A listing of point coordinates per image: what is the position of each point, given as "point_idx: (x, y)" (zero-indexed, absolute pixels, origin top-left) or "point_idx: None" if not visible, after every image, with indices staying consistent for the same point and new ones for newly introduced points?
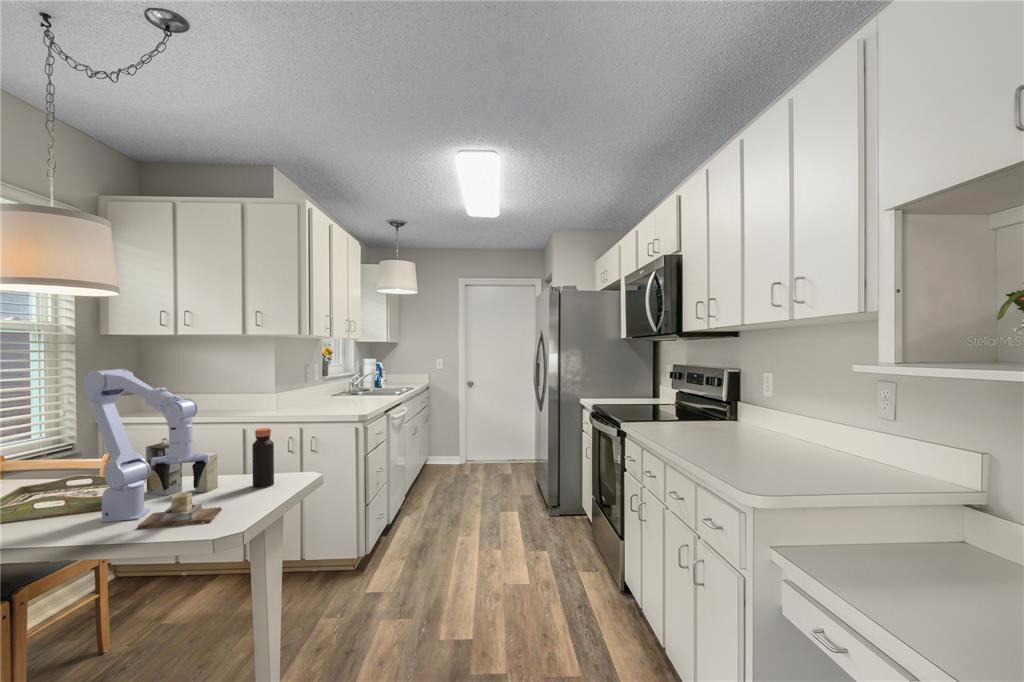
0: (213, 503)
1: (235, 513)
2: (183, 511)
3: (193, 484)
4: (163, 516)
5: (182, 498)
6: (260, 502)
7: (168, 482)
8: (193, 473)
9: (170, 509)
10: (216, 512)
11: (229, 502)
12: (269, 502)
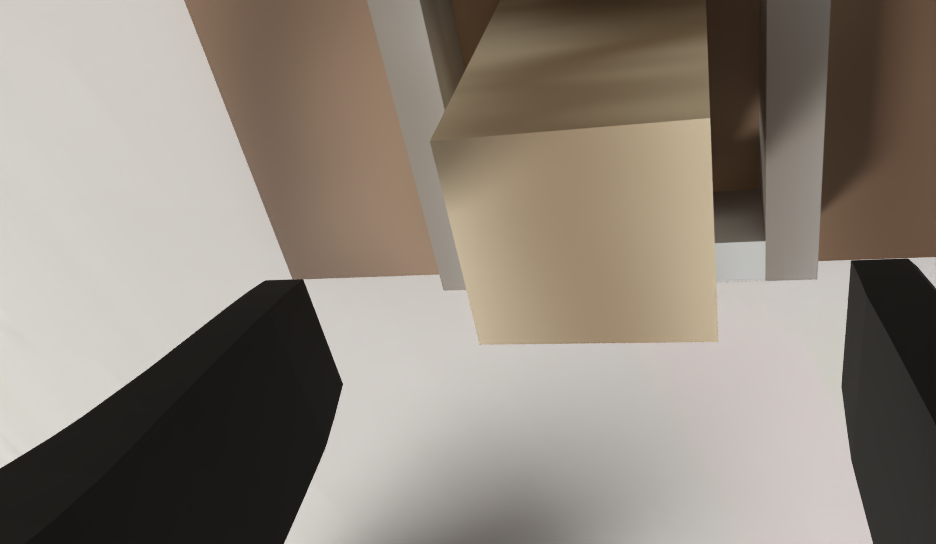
0: (503, 450)
1: (103, 148)
2: (531, 28)
3: (266, 315)
4: None
5: (509, 124)
6: (88, 381)
7: (867, 479)
8: (81, 493)
9: (765, 126)
10: (237, 127)
11: (365, 440)
12: (11, 365)
